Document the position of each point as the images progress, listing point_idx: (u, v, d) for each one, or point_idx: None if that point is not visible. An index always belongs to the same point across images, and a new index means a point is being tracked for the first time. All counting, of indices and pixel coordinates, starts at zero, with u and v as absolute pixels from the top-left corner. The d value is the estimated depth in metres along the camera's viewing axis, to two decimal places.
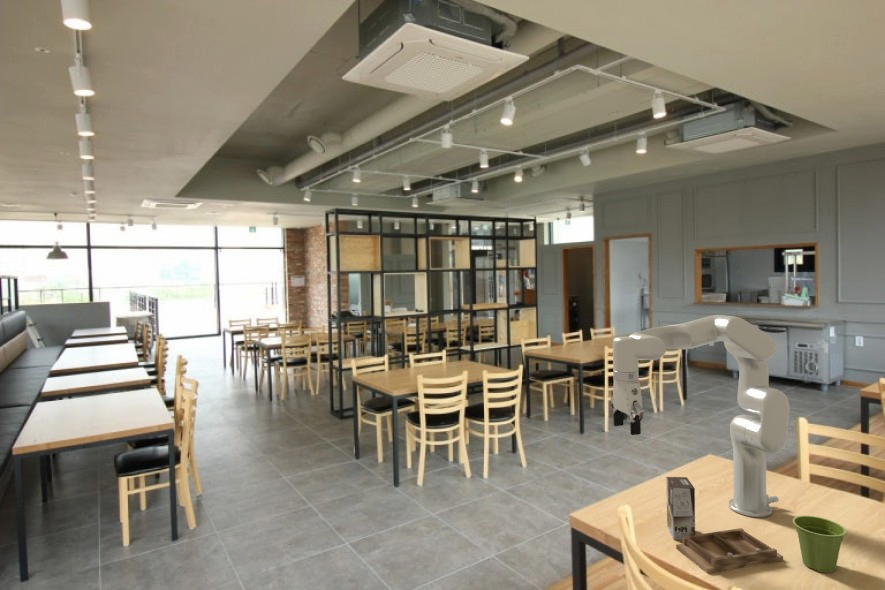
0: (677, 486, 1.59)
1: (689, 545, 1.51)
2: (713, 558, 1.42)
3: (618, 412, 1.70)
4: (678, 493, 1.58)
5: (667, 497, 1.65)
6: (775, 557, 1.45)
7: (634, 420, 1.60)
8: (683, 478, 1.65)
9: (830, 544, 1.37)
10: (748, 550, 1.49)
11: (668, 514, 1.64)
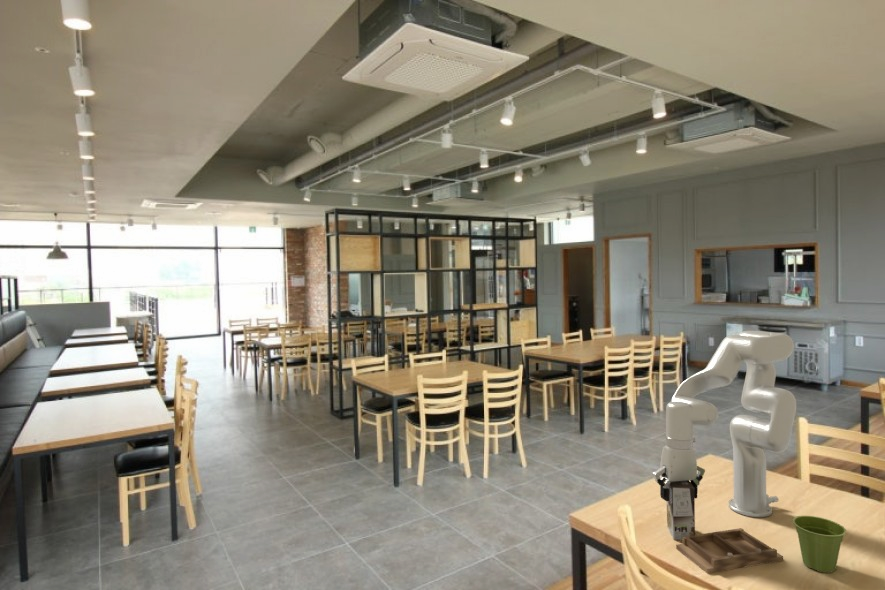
0: (677, 486, 1.59)
1: (689, 545, 1.51)
2: (713, 558, 1.42)
3: None
4: (678, 493, 1.58)
5: None
6: (775, 557, 1.45)
7: (698, 482, 1.62)
8: None
9: (830, 544, 1.37)
10: (748, 550, 1.49)
11: (668, 514, 1.64)
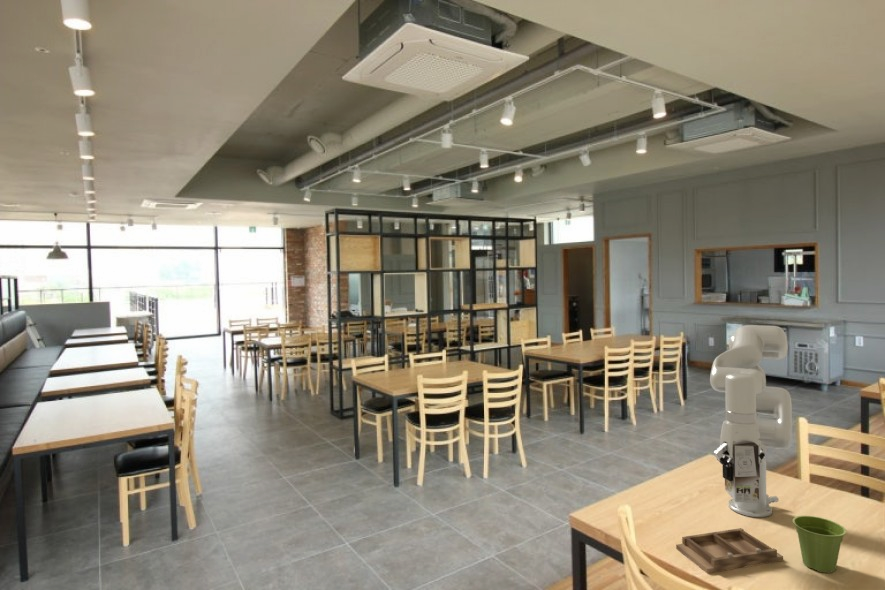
0: (739, 444, 1.46)
1: (689, 545, 1.51)
2: (713, 558, 1.42)
3: None
4: (740, 451, 1.45)
5: None
6: (775, 557, 1.45)
7: None
8: None
9: (830, 544, 1.37)
10: (748, 550, 1.49)
11: None
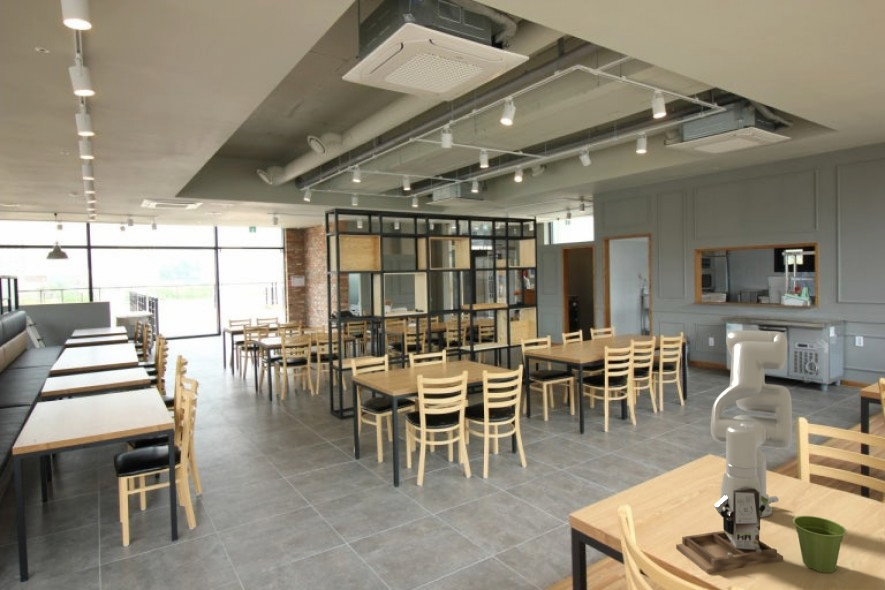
0: None
1: (689, 545, 1.51)
2: (713, 558, 1.42)
3: None
4: (741, 498, 1.46)
5: None
6: (775, 557, 1.45)
7: None
8: None
9: (830, 544, 1.37)
10: (748, 550, 1.49)
11: None
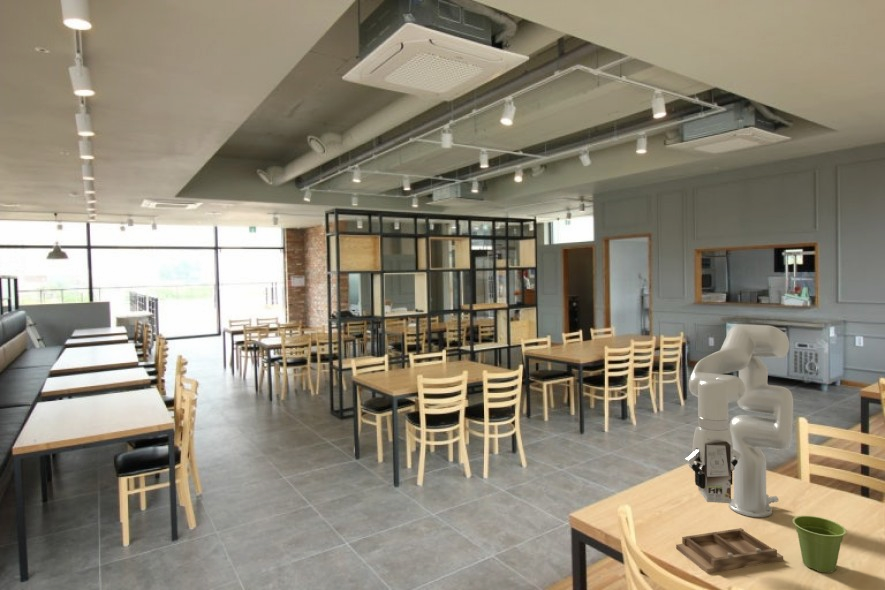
0: None
1: (689, 545, 1.51)
2: (713, 558, 1.42)
3: None
4: (712, 451, 1.43)
5: None
6: (775, 557, 1.45)
7: None
8: None
9: (830, 544, 1.37)
10: (748, 550, 1.49)
11: None
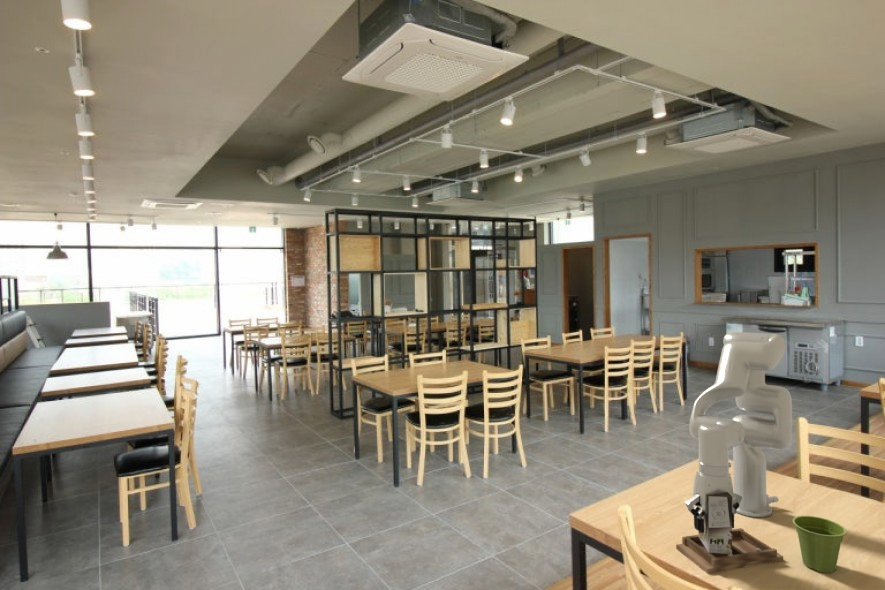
0: (712, 494, 1.45)
1: (689, 545, 1.51)
2: (713, 558, 1.42)
3: None
4: (714, 502, 1.44)
5: None
6: (775, 557, 1.45)
7: None
8: None
9: (830, 544, 1.37)
10: (748, 550, 1.49)
11: None
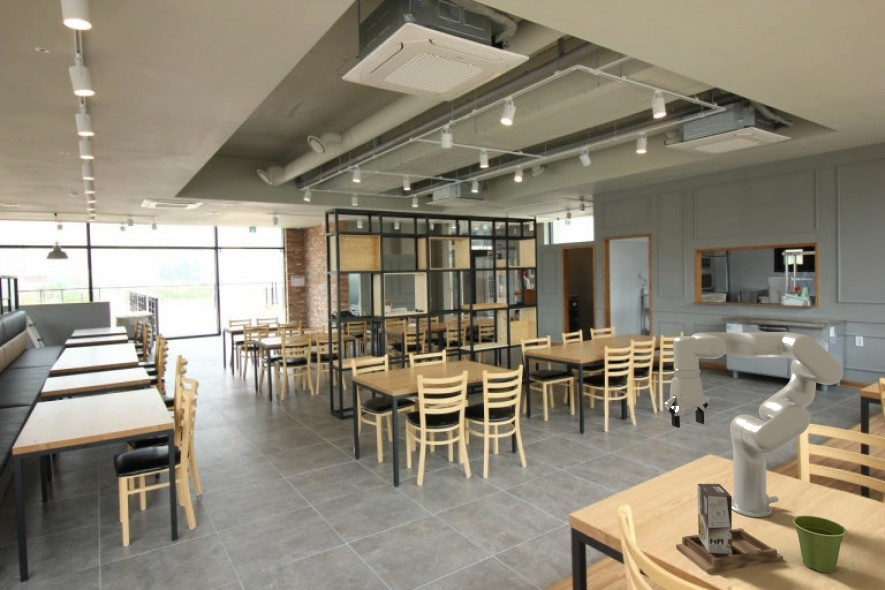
0: (712, 494, 1.45)
1: (689, 545, 1.51)
2: (713, 558, 1.42)
3: None
4: (713, 502, 1.44)
5: (699, 506, 1.51)
6: (775, 557, 1.45)
7: None
8: (716, 484, 1.51)
9: (830, 544, 1.37)
10: (748, 550, 1.49)
11: (700, 524, 1.51)
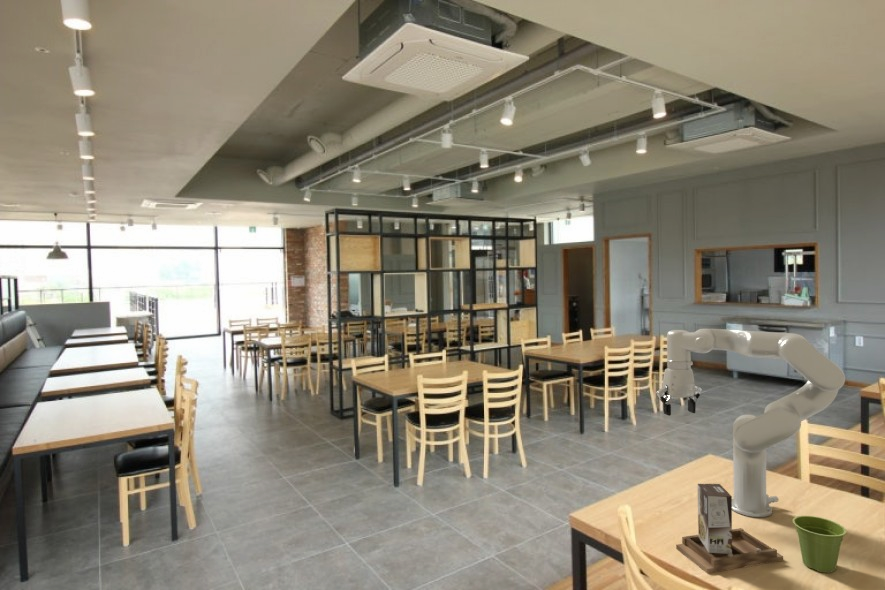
0: (712, 494, 1.45)
1: (689, 545, 1.51)
2: (713, 558, 1.42)
3: None
4: (713, 502, 1.44)
5: (699, 506, 1.51)
6: (775, 557, 1.45)
7: (696, 399, 1.86)
8: (716, 484, 1.51)
9: (830, 544, 1.37)
10: (748, 550, 1.49)
11: (700, 524, 1.51)
